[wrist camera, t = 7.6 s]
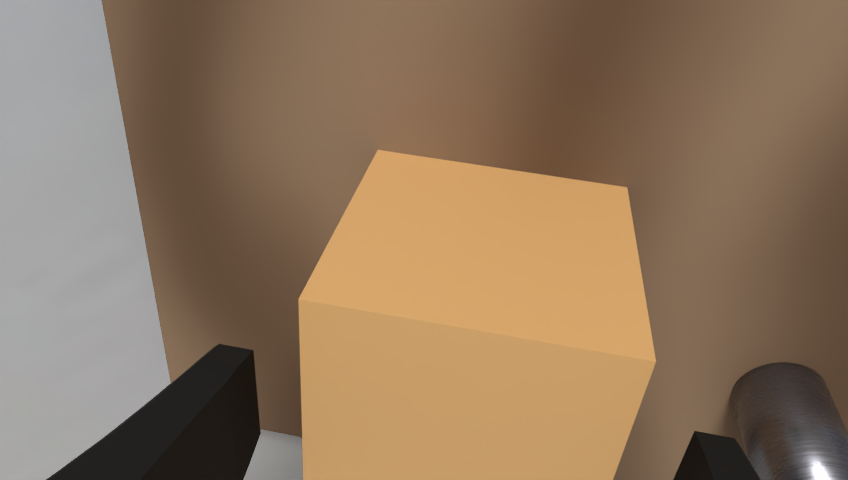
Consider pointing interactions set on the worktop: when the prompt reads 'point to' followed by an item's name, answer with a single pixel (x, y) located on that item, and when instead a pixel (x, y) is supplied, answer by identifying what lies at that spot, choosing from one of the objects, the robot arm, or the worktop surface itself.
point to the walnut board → (503, 166)
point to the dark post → (790, 424)
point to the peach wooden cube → (473, 328)
